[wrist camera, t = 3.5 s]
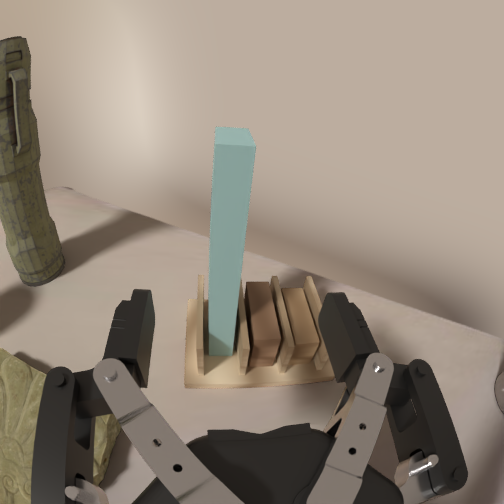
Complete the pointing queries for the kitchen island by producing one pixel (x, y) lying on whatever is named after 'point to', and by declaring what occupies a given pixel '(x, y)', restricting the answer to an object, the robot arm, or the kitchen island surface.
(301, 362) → the oak offcut
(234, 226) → the teal board
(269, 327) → the walnut offcut
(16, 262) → the thermos
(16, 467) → the decorative tile
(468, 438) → the kitchen island surface
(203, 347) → the beech rack
